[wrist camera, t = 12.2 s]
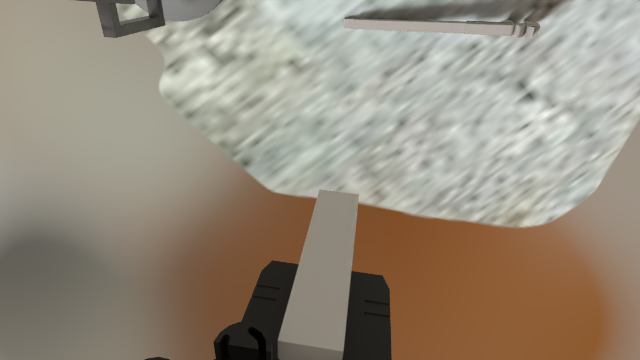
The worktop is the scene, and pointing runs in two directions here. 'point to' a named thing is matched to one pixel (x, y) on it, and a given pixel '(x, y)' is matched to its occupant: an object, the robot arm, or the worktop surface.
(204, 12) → the trivet
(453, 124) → the worktop surface
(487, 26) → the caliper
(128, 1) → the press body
